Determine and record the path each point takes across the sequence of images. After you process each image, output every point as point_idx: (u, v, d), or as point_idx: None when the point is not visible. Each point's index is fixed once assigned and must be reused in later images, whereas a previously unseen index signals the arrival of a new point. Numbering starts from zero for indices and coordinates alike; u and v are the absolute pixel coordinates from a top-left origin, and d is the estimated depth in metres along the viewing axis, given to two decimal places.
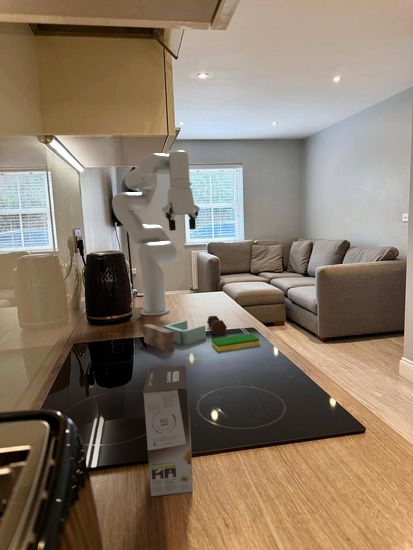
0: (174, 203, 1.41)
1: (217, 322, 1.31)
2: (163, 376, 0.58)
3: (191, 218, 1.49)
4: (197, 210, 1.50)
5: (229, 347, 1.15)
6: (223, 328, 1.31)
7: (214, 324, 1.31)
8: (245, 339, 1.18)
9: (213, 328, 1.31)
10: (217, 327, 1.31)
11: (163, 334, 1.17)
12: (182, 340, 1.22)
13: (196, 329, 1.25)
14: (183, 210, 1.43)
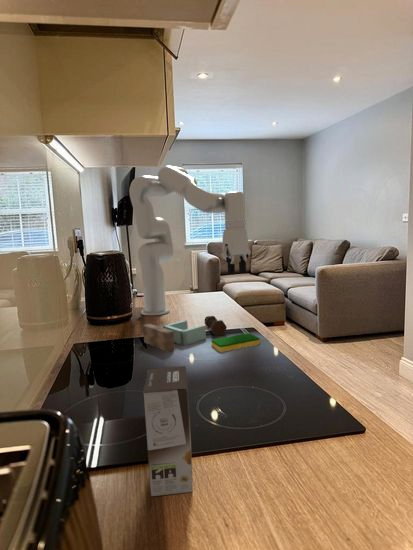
0: (230, 245, 1.38)
1: (217, 322, 1.30)
2: (163, 376, 0.58)
3: (241, 260, 1.45)
4: (248, 253, 1.46)
5: (231, 347, 1.15)
6: (223, 328, 1.31)
7: (214, 324, 1.30)
8: (245, 339, 1.19)
9: (213, 328, 1.30)
10: (217, 327, 1.31)
11: (163, 334, 1.17)
12: (182, 340, 1.22)
13: (196, 329, 1.25)
14: (239, 251, 1.40)
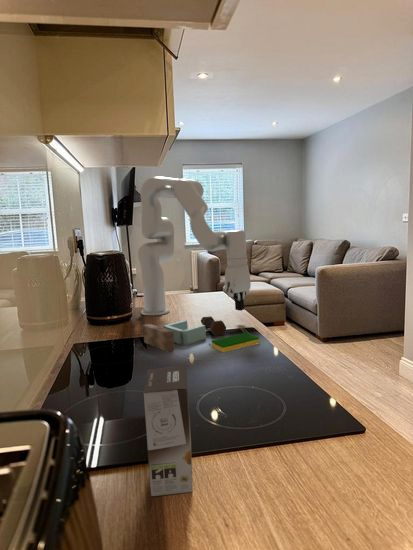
0: (233, 283, 1.39)
1: (217, 322, 1.30)
2: (163, 376, 0.58)
3: (239, 296, 1.45)
4: (246, 291, 1.47)
5: (232, 347, 1.15)
6: (222, 328, 1.31)
7: (214, 325, 1.30)
8: (245, 338, 1.19)
9: (213, 329, 1.30)
10: (217, 327, 1.30)
11: (163, 334, 1.17)
12: (182, 340, 1.22)
13: (196, 329, 1.25)
14: (241, 288, 1.42)
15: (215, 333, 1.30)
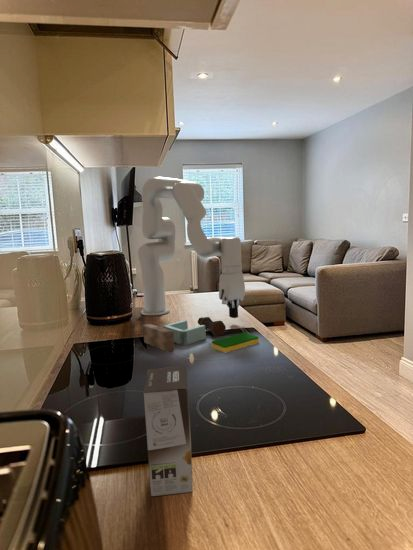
0: (227, 290, 1.38)
1: (217, 323, 1.30)
2: (163, 376, 0.58)
3: (233, 304, 1.44)
4: (241, 299, 1.45)
5: (234, 347, 1.15)
6: (222, 328, 1.31)
7: (214, 325, 1.30)
8: (245, 338, 1.19)
9: (213, 329, 1.29)
10: (217, 328, 1.30)
11: (163, 334, 1.17)
12: (182, 340, 1.22)
13: (196, 329, 1.25)
14: (235, 296, 1.41)
15: (215, 333, 1.30)
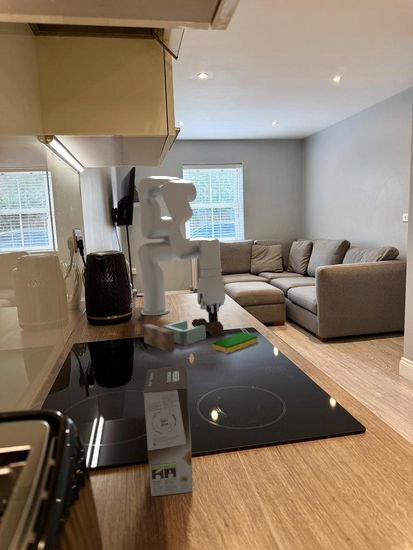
0: (205, 295, 1.31)
1: (215, 323, 1.29)
2: (163, 376, 0.58)
3: None
4: (221, 303, 1.38)
5: (236, 347, 1.15)
6: (220, 329, 1.30)
7: (213, 326, 1.28)
8: (245, 338, 1.20)
9: (212, 330, 1.28)
10: (216, 328, 1.29)
11: (163, 334, 1.17)
12: (182, 340, 1.22)
13: (196, 329, 1.25)
14: (214, 300, 1.34)
15: (214, 334, 1.29)
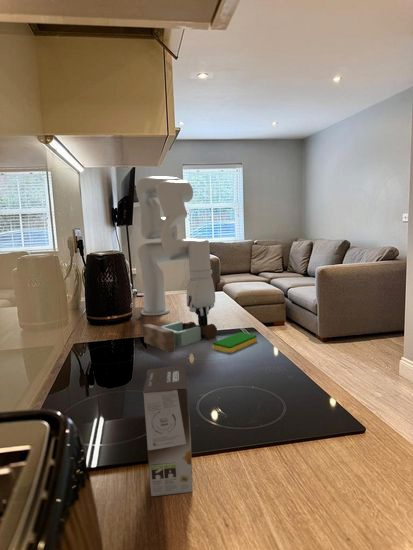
0: (194, 297, 1.28)
1: (210, 326, 1.26)
2: (163, 376, 0.58)
3: (203, 311, 1.34)
4: (211, 306, 1.35)
5: (237, 347, 1.15)
6: (215, 332, 1.28)
7: (208, 329, 1.25)
8: (245, 337, 1.20)
9: (208, 333, 1.25)
10: (211, 331, 1.26)
11: (163, 334, 1.17)
12: (177, 342, 1.21)
13: (191, 330, 1.23)
14: (204, 303, 1.31)
15: (209, 337, 1.26)
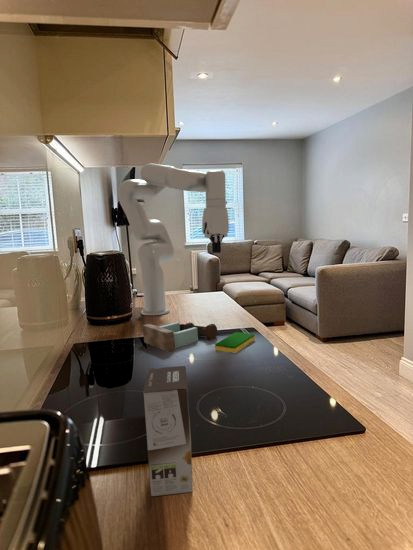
0: (210, 223, 1.39)
1: (211, 326, 1.26)
2: (163, 376, 0.58)
3: (216, 239, 1.45)
4: (224, 235, 1.46)
5: (240, 347, 1.15)
6: (215, 332, 1.28)
7: (210, 329, 1.25)
8: (245, 337, 1.21)
9: (209, 333, 1.25)
10: (212, 331, 1.26)
11: (163, 334, 1.17)
12: None
13: (188, 331, 1.23)
14: (218, 230, 1.42)
15: (211, 337, 1.26)
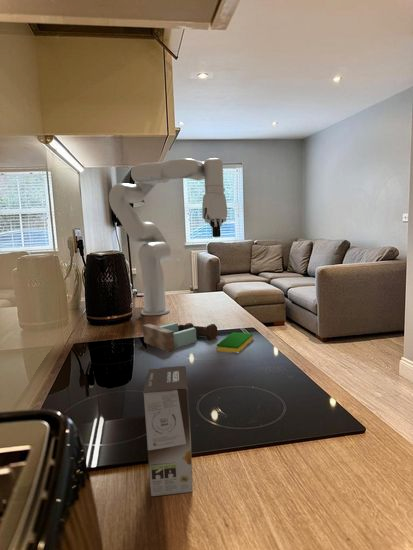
0: (209, 208, 1.47)
1: (212, 326, 1.26)
2: (163, 376, 0.58)
3: (216, 224, 1.52)
4: (223, 220, 1.54)
5: (242, 347, 1.15)
6: (216, 332, 1.28)
7: (210, 329, 1.25)
8: (244, 336, 1.21)
9: (210, 333, 1.25)
10: (212, 331, 1.26)
11: (163, 334, 1.17)
12: None
13: (186, 332, 1.22)
14: (217, 215, 1.50)
15: (211, 337, 1.25)
